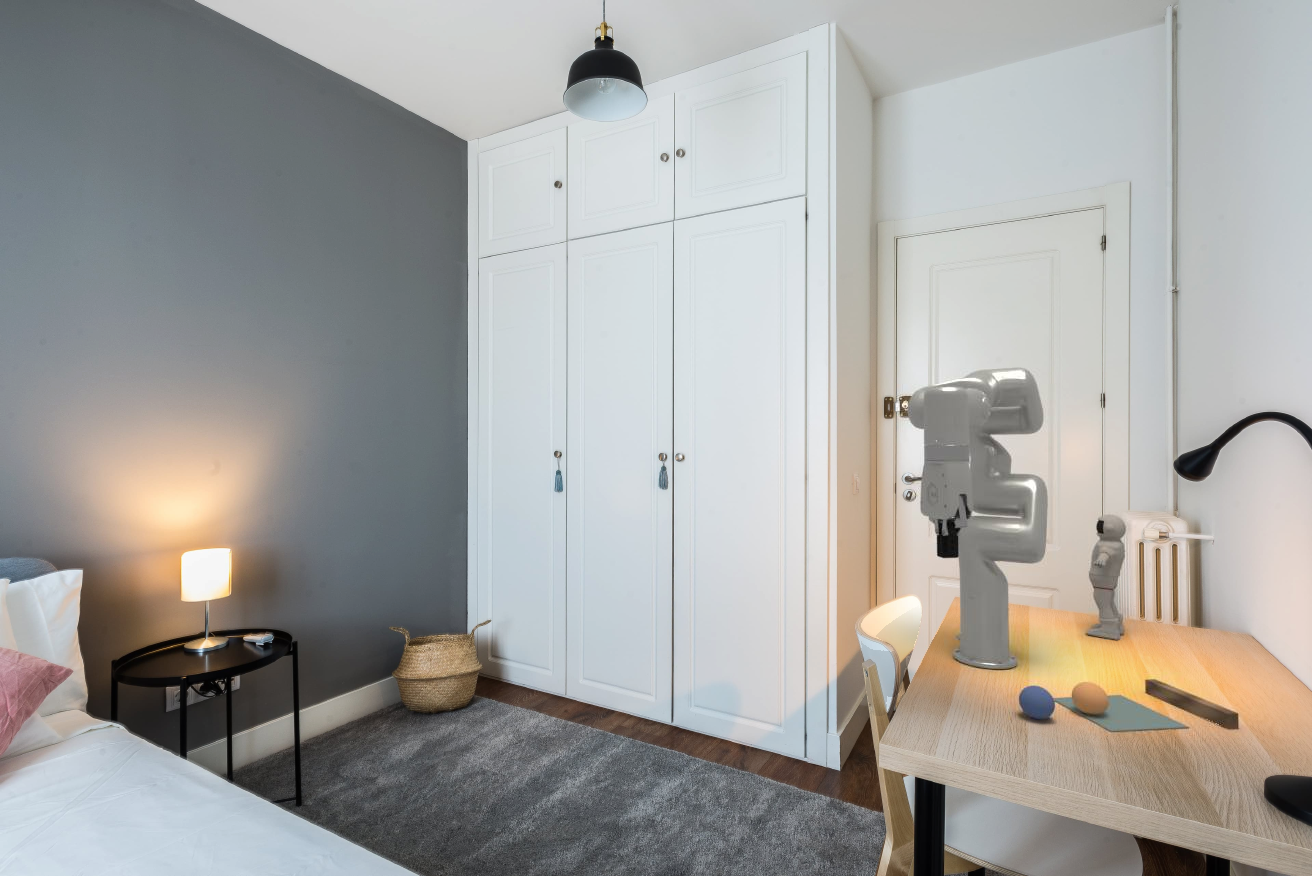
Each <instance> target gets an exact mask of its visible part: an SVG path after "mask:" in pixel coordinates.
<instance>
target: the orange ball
mask: <svg viewBox="0 0 1312 876" xmlns="http://www.w3.org/2000/svg"><path fill="white" fill-rule="evenodd" d="M1071 697H1072V700H1073V703H1074V704H1075V706H1076V707H1077V708H1078V709H1079V710H1080V711H1082V712H1084V713H1086V714H1089V715H1099V714H1101V713H1103V712H1104V711H1105V710H1106V709H1107V707H1108V704H1109V700H1108V694H1107V693H1106V691H1105V690H1104V688H1102V687H1101V686H1100V685H1098V684H1096V683H1093V682H1091V681H1084V682H1080V683H1078V684H1076V685H1074V687H1073V688H1072V690H1071Z"/></svg>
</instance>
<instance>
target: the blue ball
mask: <svg viewBox="0 0 1312 876" xmlns="http://www.w3.org/2000/svg"><path fill="white" fill-rule="evenodd" d="M1053 698H1054V696H1053V695H1052V694H1051V693H1050V692H1049V691H1048V690H1047V689H1046V688H1044V687H1041V686H1039V685H1028V686H1025V687H1024V688H1023V689H1022V690H1021V691H1020V693H1019V696H1018V702H1019V703H1018V704H1019V707H1020V709H1021V710H1022V711H1023V713H1025V714H1026V715H1027V716H1029V717H1031V718H1032V719H1036V720H1045V719H1048V718H1049V717H1051V716H1052V715H1053V714H1054V712H1055V709H1056V702H1055V701H1054V699H1053Z"/></svg>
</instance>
